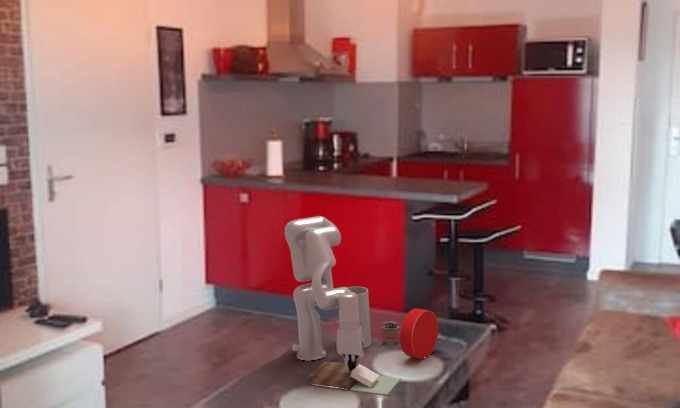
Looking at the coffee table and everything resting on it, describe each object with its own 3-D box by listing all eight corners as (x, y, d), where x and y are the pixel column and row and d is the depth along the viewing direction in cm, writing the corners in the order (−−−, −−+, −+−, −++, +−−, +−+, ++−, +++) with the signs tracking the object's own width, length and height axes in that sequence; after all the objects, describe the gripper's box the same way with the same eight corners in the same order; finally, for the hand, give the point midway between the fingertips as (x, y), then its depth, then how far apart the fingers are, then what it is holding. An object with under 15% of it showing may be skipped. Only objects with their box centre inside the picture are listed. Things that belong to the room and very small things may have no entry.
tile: (350, 376, 281) (352, 370, 280) (357, 369, 287) (359, 363, 286) (370, 387, 278) (372, 382, 277) (377, 380, 284) (379, 375, 283)
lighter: (400, 341, 325) (399, 320, 323) (400, 344, 321) (399, 322, 320) (382, 342, 326) (381, 320, 324) (382, 345, 322) (381, 323, 321)
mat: (350, 390, 277) (349, 389, 277) (365, 375, 291) (365, 374, 291) (387, 395, 271) (387, 394, 271) (400, 379, 285) (400, 378, 285)
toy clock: (427, 347, 316) (425, 302, 313) (439, 350, 312) (437, 304, 309) (401, 363, 301) (398, 316, 298) (413, 365, 297) (410, 318, 294)
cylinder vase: (371, 339, 329) (368, 286, 325) (370, 350, 317) (367, 294, 313) (344, 340, 331) (340, 287, 327) (341, 350, 318) (337, 295, 314)
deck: (309, 385, 285) (309, 375, 284) (326, 370, 298) (325, 361, 297) (347, 390, 278) (346, 380, 277) (362, 374, 291) (362, 365, 291)
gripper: (327, 325, 281) (330, 371, 284) (363, 329, 275) (366, 375, 278) (335, 319, 288) (338, 364, 291) (371, 322, 281) (373, 368, 284)
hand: (352, 369), depth 284 cm, fingers closed
